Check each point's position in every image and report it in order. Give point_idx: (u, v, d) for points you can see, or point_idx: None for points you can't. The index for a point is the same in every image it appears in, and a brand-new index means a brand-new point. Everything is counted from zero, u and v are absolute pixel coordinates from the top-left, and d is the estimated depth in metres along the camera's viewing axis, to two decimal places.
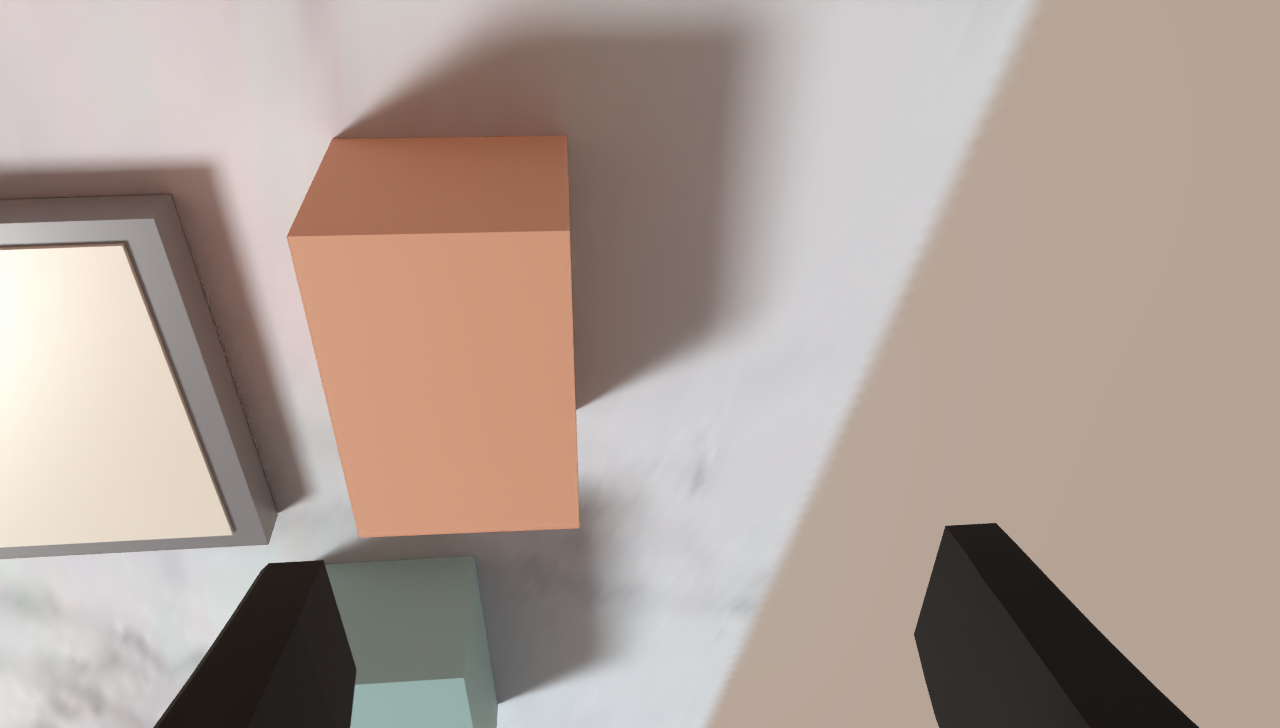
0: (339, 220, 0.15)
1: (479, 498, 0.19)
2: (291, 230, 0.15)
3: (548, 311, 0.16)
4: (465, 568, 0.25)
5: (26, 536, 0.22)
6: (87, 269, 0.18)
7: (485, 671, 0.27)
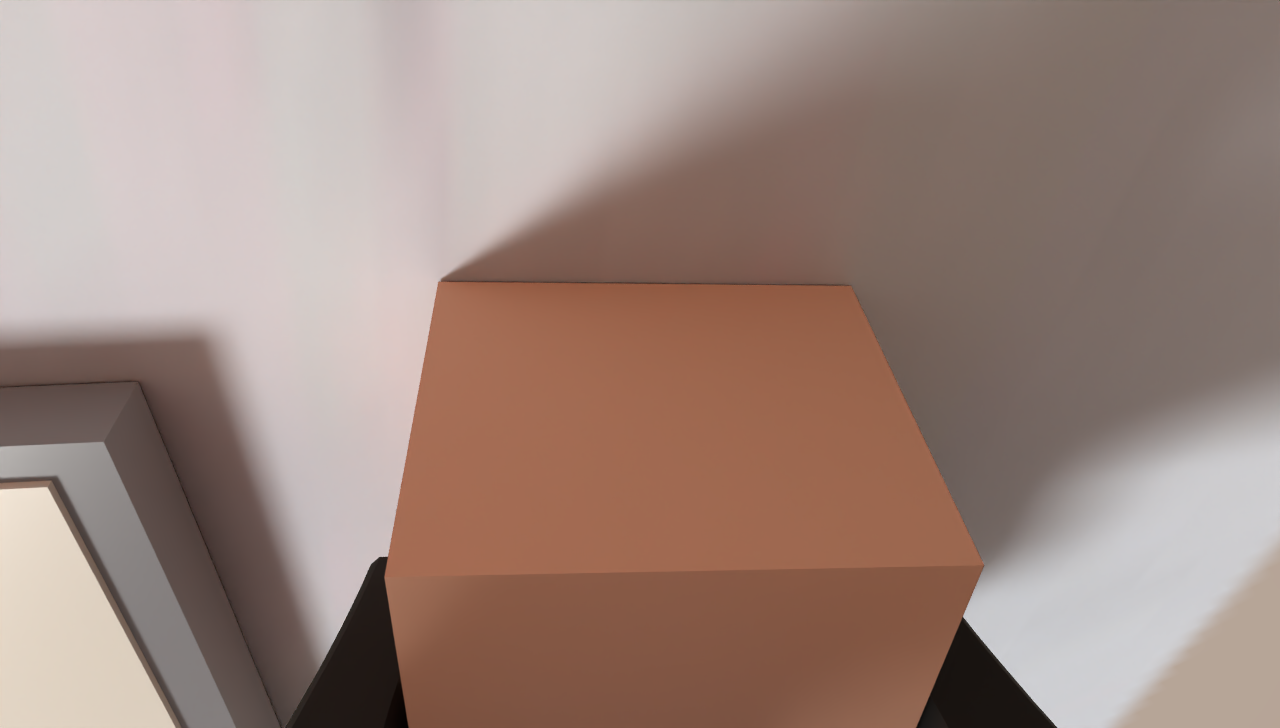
0: (490, 525, 0.07)
1: None
2: (392, 555, 0.07)
3: (886, 687, 0.08)
4: None
5: None
6: None
7: None
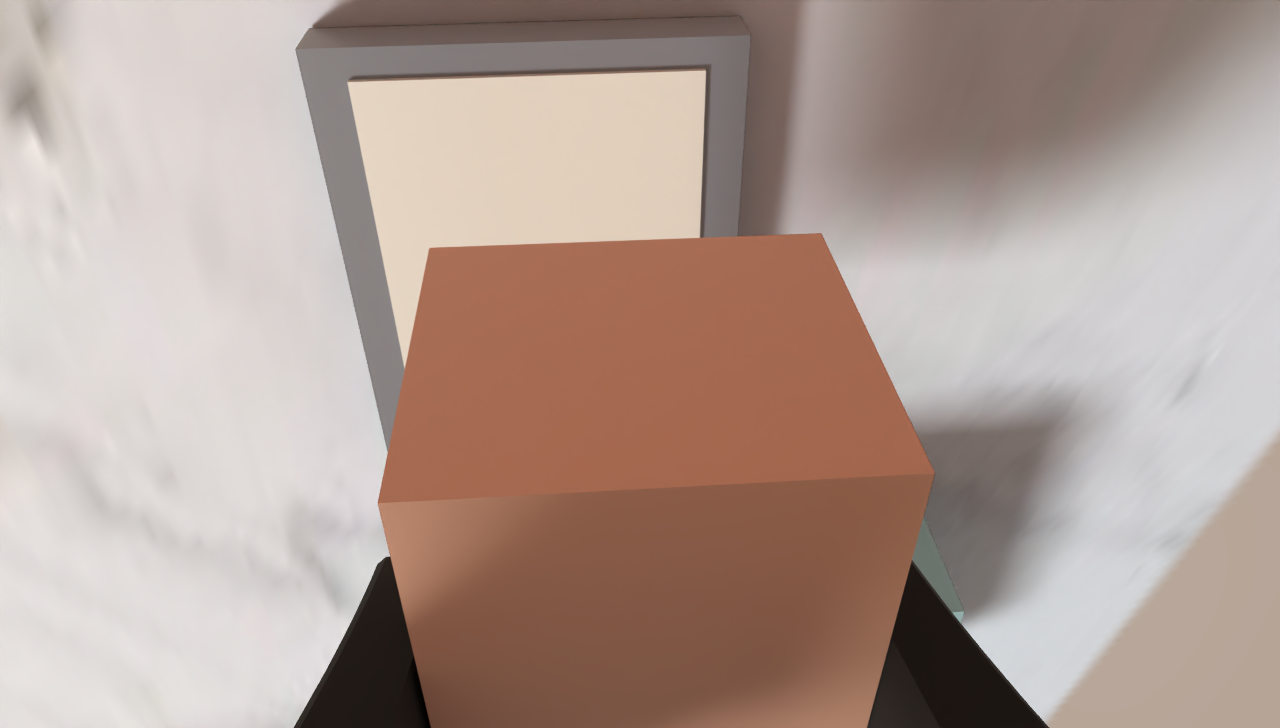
0: (476, 456, 0.08)
1: None
2: (384, 484, 0.07)
3: (857, 600, 0.09)
4: None
5: None
6: (655, 101, 0.15)
7: None
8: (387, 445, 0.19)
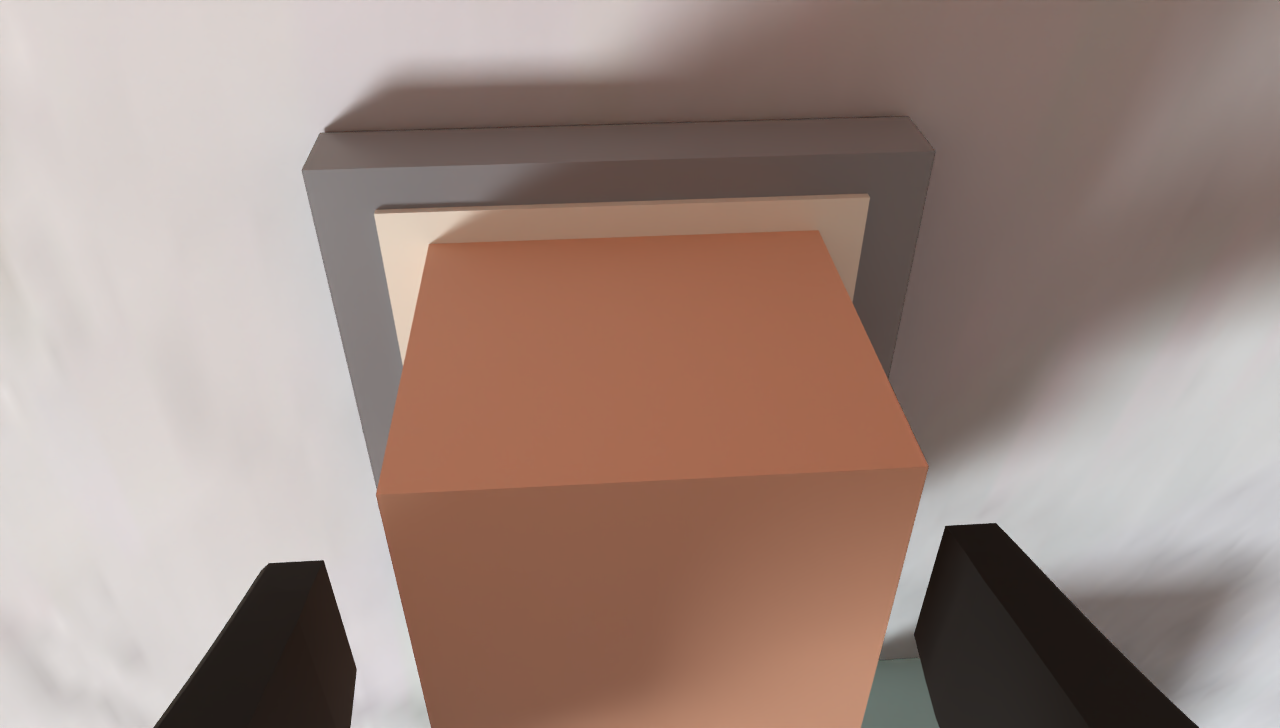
0: (474, 448, 0.08)
1: None
2: (383, 476, 0.08)
3: (852, 593, 0.09)
4: None
5: None
6: None
7: None
8: None
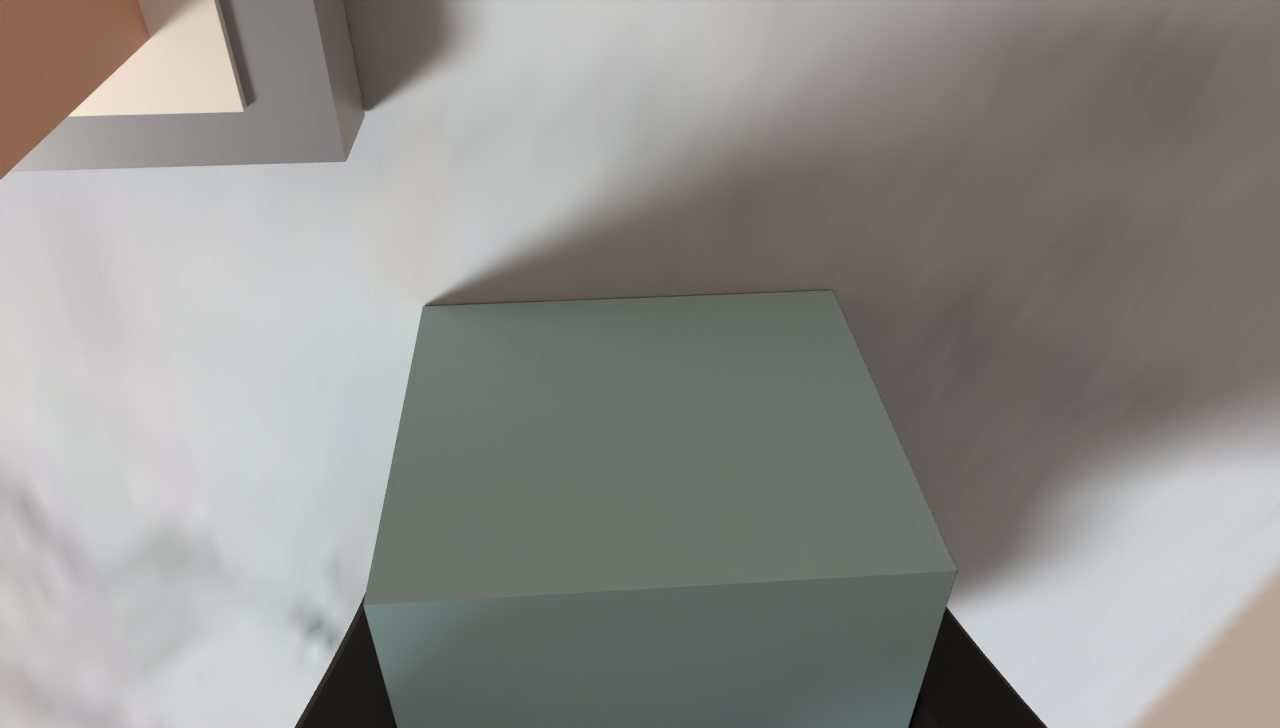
0: None
1: None
2: None
3: None
4: (827, 322, 0.10)
5: None
6: None
7: None
8: None
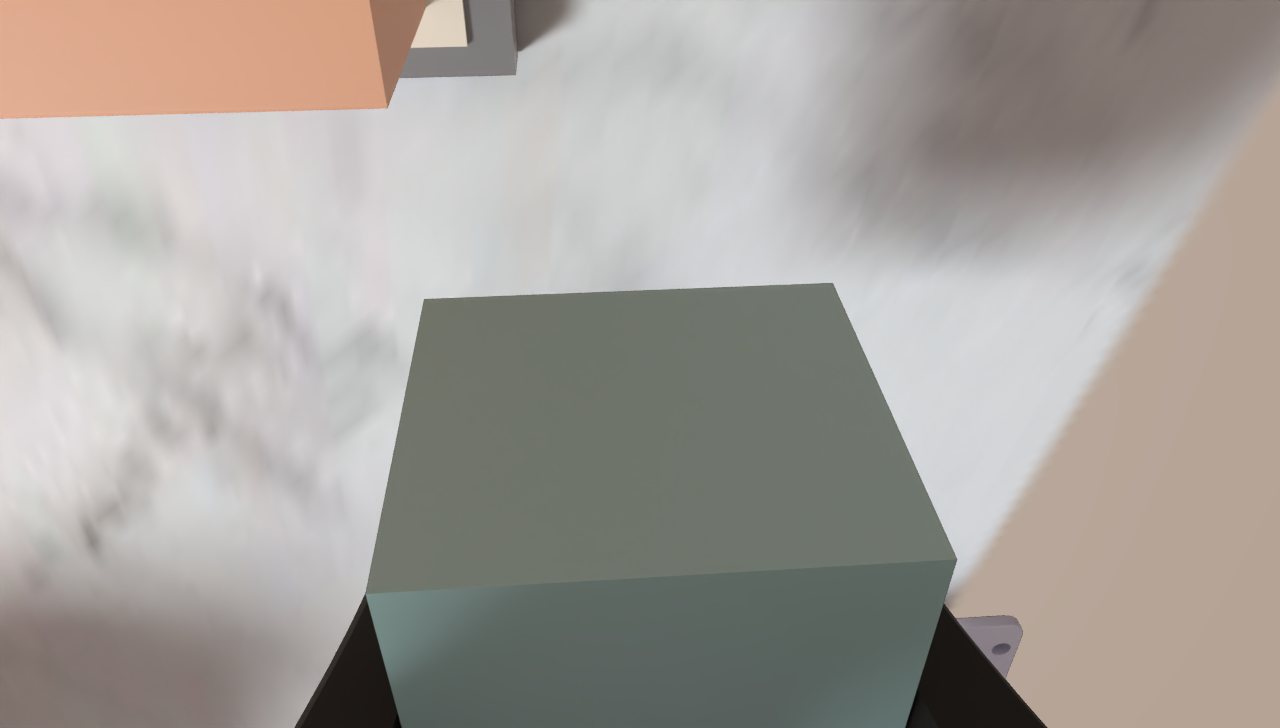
0: None
1: (187, 25, 0.10)
2: None
3: None
4: (827, 314, 0.10)
5: None
6: None
7: None
8: None
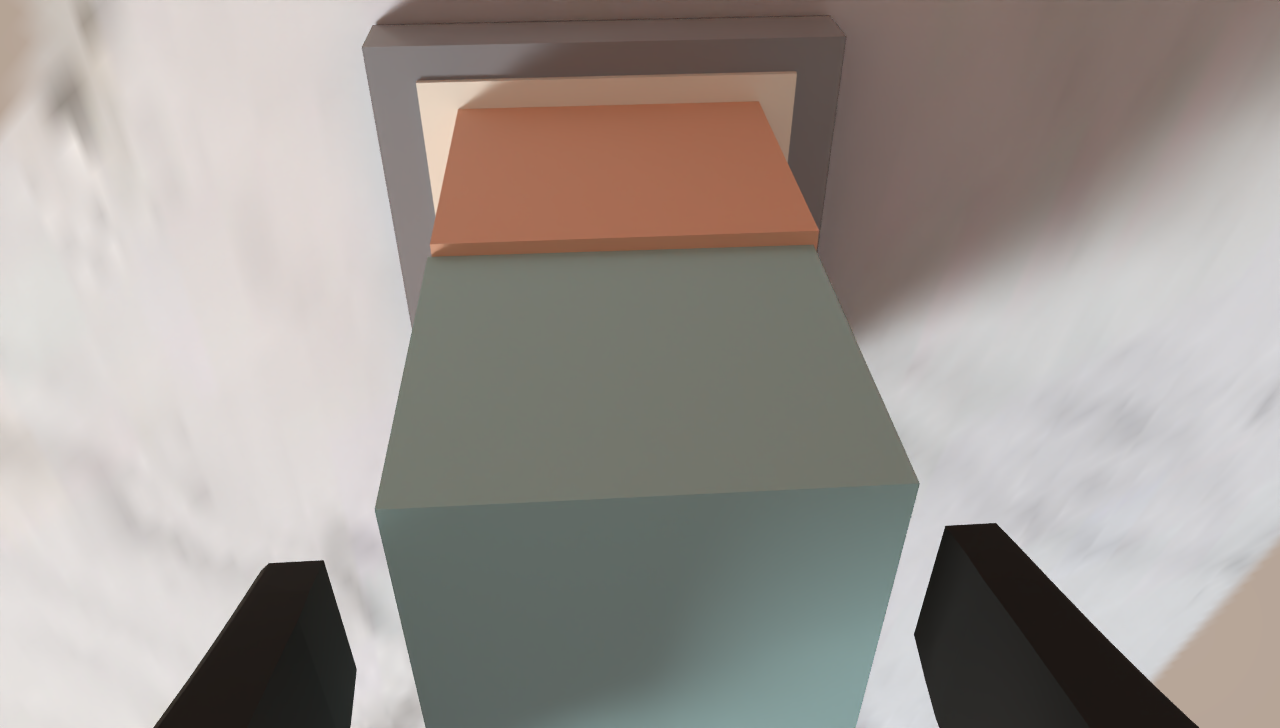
0: (496, 220, 0.11)
1: None
2: (433, 235, 0.11)
3: None
4: (807, 272, 0.10)
5: None
6: None
7: None
8: None
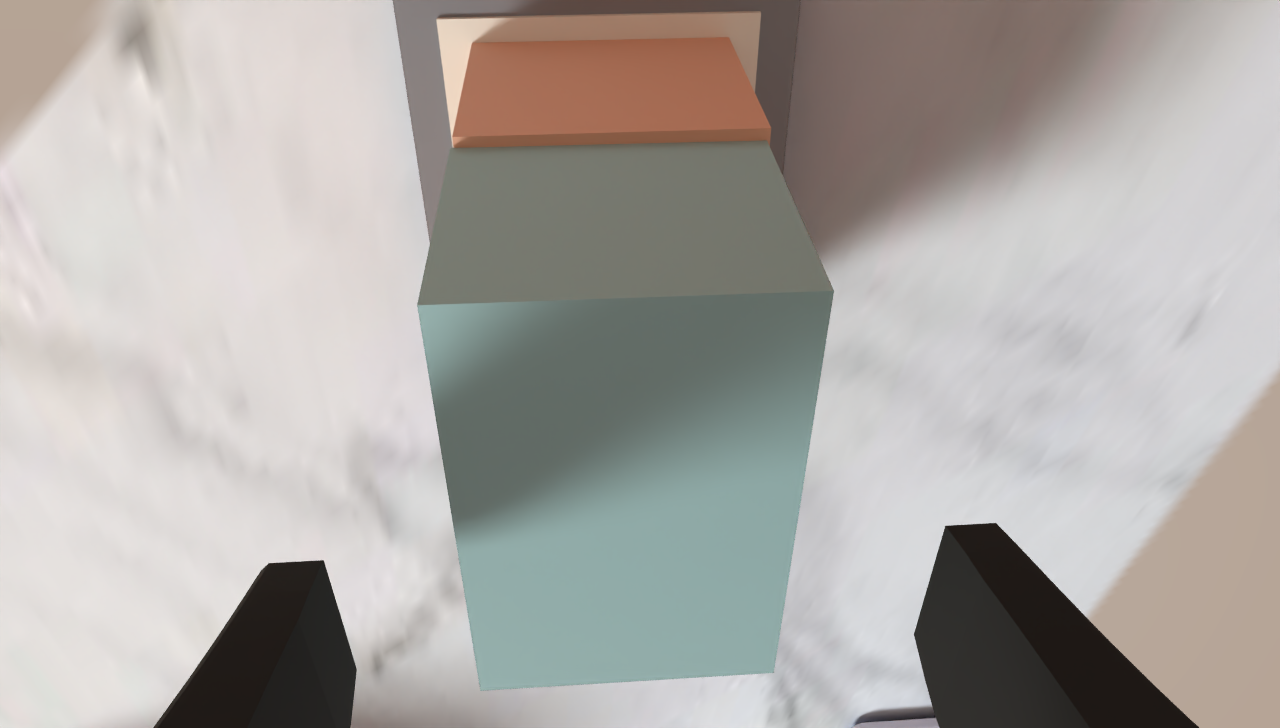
0: (506, 121, 0.13)
1: None
2: (455, 130, 0.13)
3: None
4: (760, 158, 0.13)
5: None
6: None
7: None
8: None
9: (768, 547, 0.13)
